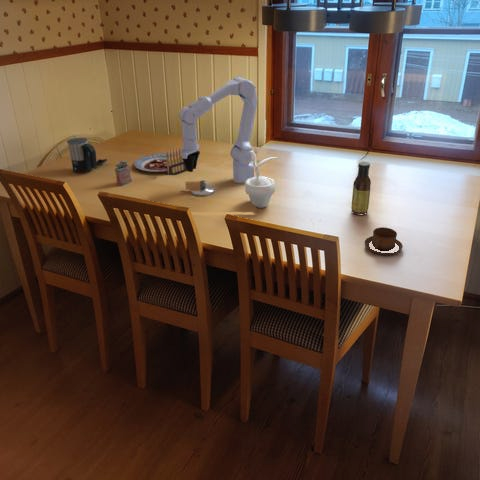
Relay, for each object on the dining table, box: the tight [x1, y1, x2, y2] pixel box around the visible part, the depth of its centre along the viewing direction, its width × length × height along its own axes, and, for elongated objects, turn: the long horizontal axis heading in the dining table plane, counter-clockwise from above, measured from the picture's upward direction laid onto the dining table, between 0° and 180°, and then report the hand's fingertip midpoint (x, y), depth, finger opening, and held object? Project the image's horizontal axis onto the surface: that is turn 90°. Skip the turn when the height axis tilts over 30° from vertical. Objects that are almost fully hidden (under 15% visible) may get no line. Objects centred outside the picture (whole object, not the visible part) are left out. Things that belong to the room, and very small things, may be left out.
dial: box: [184, 180, 216, 197], centre depth 199 cm, size 12×10×4 cm
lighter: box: [114, 160, 133, 187], centre depth 210 cm, size 8×3×10 cm, turn 149°
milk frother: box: [66, 137, 108, 174], centre depth 227 cm, size 14×16×15 cm
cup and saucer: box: [364, 226, 403, 256], centre depth 156 cm, size 12×12×6 cm
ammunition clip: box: [166, 145, 188, 176], centre depth 220 cm, size 11×2×12 cm, turn 136°
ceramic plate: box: [134, 153, 173, 173], centre depth 232 cm, size 26×26×3 cm
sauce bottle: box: [350, 161, 372, 215], centre depth 177 cm, size 6×6×20 cm
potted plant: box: [244, 147, 279, 209], centre depth 184 cm, size 13×12×25 cm
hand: (191, 170), depth 199 cm, fingers open, 3 cm apart
